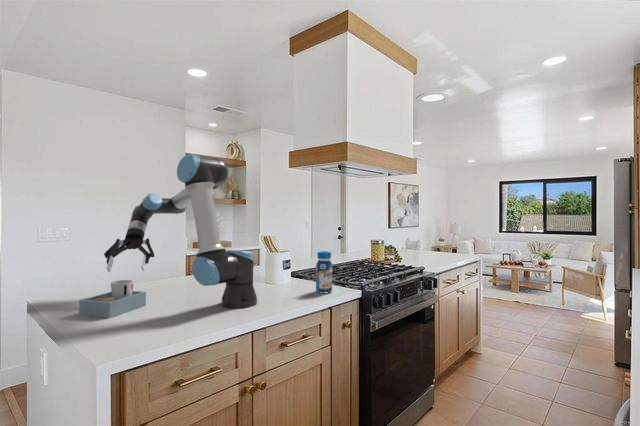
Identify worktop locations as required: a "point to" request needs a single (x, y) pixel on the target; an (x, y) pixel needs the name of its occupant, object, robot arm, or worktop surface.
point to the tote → (111, 305)
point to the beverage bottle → (324, 272)
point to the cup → (121, 288)
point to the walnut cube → (105, 299)
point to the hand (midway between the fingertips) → (125, 269)
